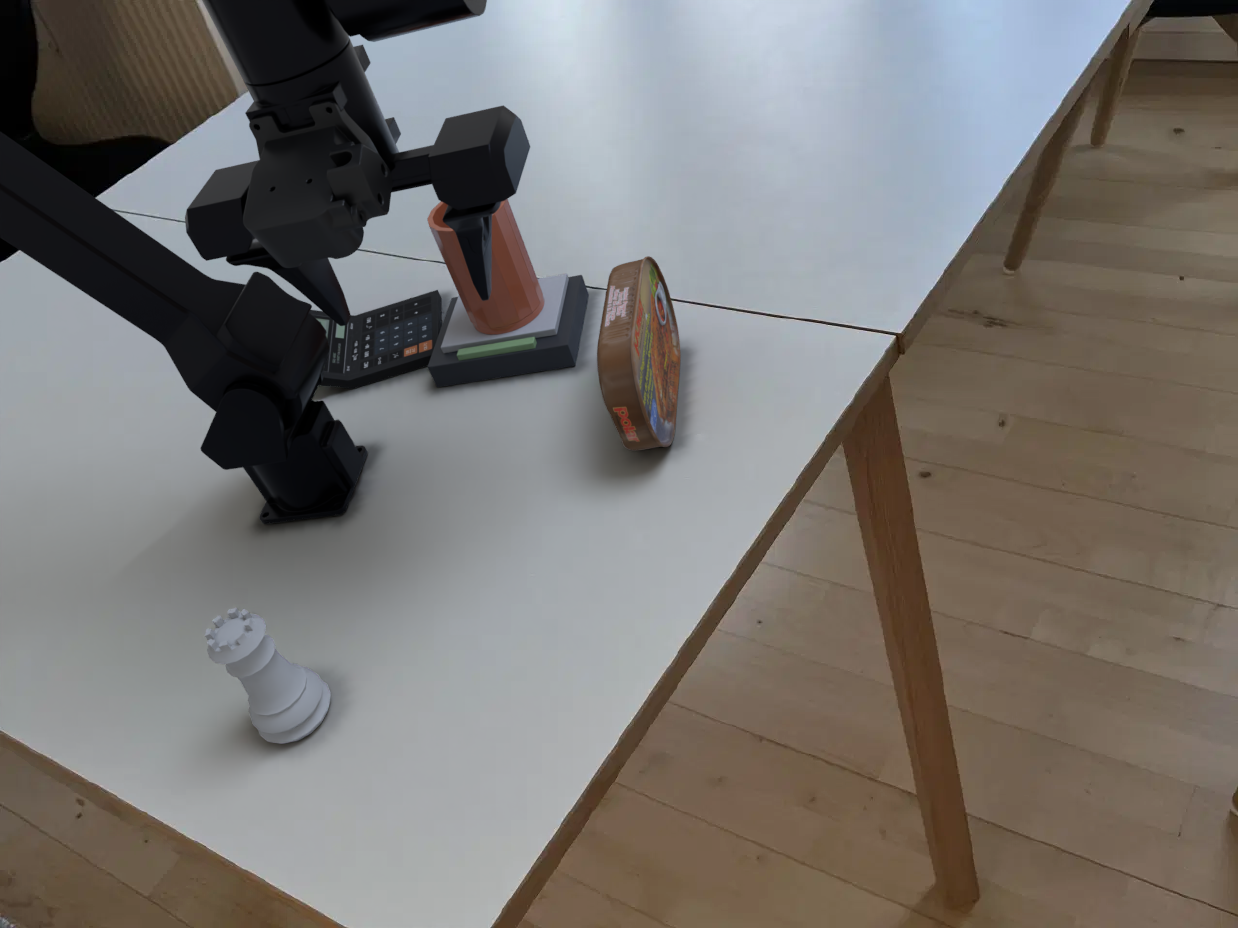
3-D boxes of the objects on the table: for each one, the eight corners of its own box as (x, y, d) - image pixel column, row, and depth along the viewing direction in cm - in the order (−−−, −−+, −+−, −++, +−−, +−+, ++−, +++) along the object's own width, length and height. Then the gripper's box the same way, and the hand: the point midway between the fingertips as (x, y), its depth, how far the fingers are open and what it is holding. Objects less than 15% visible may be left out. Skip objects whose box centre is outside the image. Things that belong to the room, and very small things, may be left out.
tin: (671, 474, 67) (638, 370, 61) (623, 480, 68) (586, 378, 62) (684, 329, 78) (656, 230, 72) (642, 336, 78) (612, 238, 73)
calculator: (442, 361, 83) (428, 330, 81) (302, 404, 84) (284, 375, 82) (441, 298, 90) (428, 268, 88) (312, 338, 91) (296, 309, 89)
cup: (537, 328, 78) (496, 223, 72) (464, 339, 80) (418, 236, 74) (550, 283, 82) (513, 179, 76) (481, 294, 84) (438, 193, 78)
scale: (436, 387, 81) (423, 361, 79) (460, 317, 87) (448, 291, 85) (575, 366, 78) (565, 338, 76) (589, 295, 84) (579, 267, 83)
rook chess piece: (315, 667, 63) (249, 579, 58) (347, 710, 60) (281, 622, 55) (249, 716, 61) (175, 631, 56) (278, 763, 58) (204, 677, 53)
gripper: (67, 174, 50) (232, 420, 60) (433, 89, 46) (544, 370, 56) (161, 73, 58) (292, 305, 68) (480, -8, 54) (570, 254, 64)
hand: (415, 309), depth 64 cm, fingers open, 9 cm apart
